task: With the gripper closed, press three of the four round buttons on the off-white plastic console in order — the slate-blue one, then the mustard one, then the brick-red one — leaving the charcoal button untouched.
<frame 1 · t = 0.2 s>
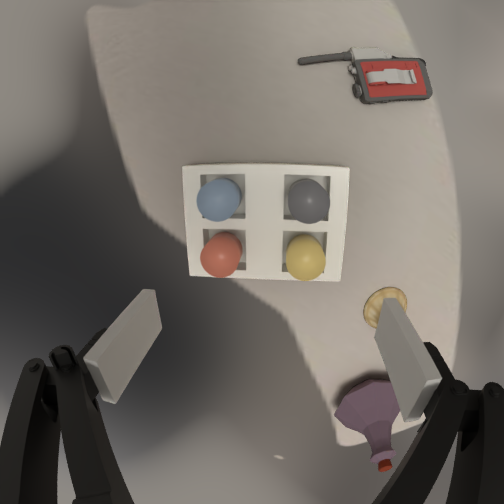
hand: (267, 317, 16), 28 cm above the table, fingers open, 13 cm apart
walkie-talkie: (368, 77, 33), on the table
button mustard: (305, 257, 37), point 6 cm above the table, slide at 0.0 cm
button slate: (219, 198, 36), point 6 cm above the table, slide at 0.0 cm
button brick: (222, 254, 38), point 6 cm above the table, slide at 0.0 cm
flask: (368, 392, 52), on the table
console: (266, 217, 42), on the table
hand bell: (385, 307, 45), on the table
button charcoal: (307, 200, 35), point 6 cm above the table, slide at 0.0 cm
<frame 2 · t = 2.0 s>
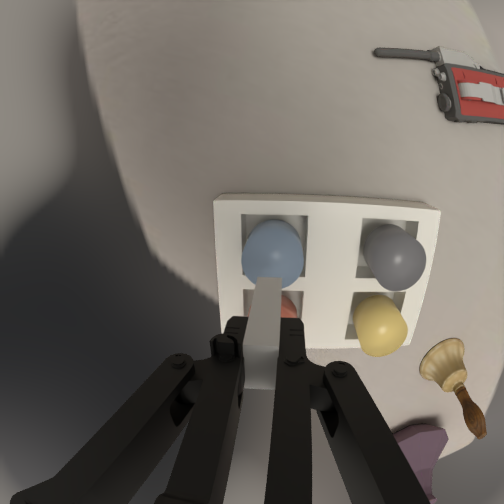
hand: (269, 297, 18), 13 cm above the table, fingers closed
walkie-talkie: (452, 86, 22), on the table
button mustard: (379, 325, 26), point 6 cm above the table, slide at 0.0 cm
button slate: (273, 253, 25), point 6 cm above the table, slide at 0.0 cm
button brick: (271, 325, 27), point 6 cm above the table, slide at 0.0 cm
flask: (407, 435, 41), on the table
console: (324, 268, 31), on the table
hand bell: (441, 358, 34), on the table
button charcoal: (393, 256, 23), point 6 cm above the table, slide at 0.0 cm
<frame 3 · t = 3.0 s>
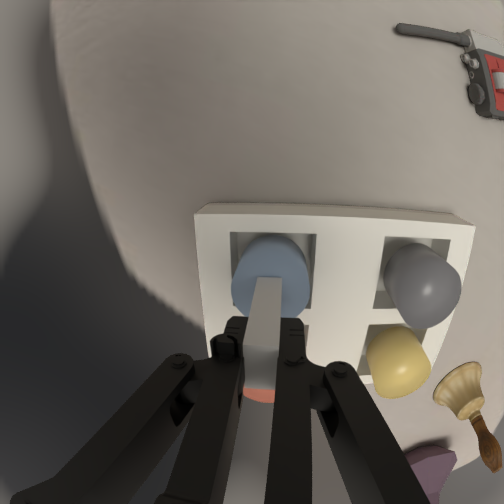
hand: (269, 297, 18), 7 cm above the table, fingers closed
walkie-talkie: (482, 77, 16), on the table
button mustard: (397, 362, 20), point 6 cm above the table, slide at 0.0 cm
button slate: (271, 278, 20), point 5 cm above the table, slide at 0.7 cm, touching gripper
button brick: (269, 365, 22), point 6 cm above the table, slide at 0.0 cm
flask: (414, 456, 36), on the table
console: (334, 292, 25), on the table
hand bell: (457, 382, 28), on the table
button charcoal: (421, 284, 18), point 6 cm above the table, slide at 0.0 cm
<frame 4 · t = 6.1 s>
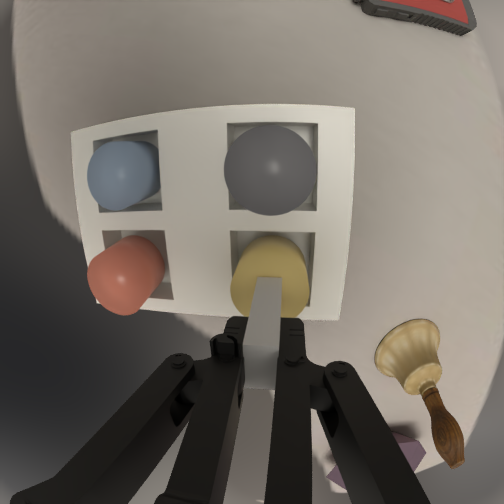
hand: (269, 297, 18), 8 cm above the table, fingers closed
button mustard: (271, 278, 20), point 5 cm above the table, slide at 0.4 cm, touching gripper
button slate: (126, 173, 20), point 4 cm above the table, slide at 2.0 cm
button brick: (126, 273, 21), point 6 cm above the table, slide at 0.0 cm
flask: (374, 445, 35), on the table
console: (209, 208, 24), on the table
hand bell: (407, 347, 27), on the table
button charcoal: (271, 168, 17), point 6 cm above the table, slide at 0.0 cm
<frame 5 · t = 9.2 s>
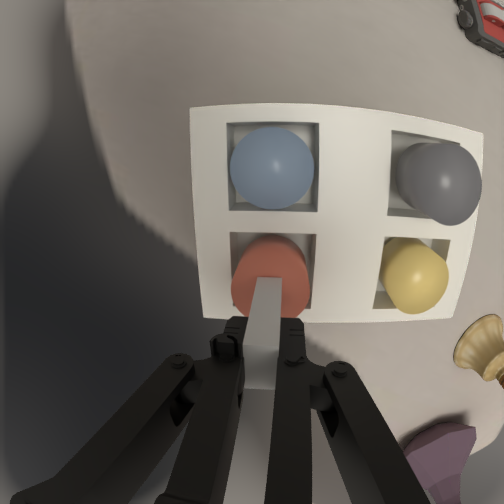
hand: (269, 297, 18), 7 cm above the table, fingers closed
walkie-talkie: (473, 17, 13), on the table
button mustard: (411, 273, 20), point 4 cm above the table, slide at 2.0 cm
button slate: (273, 166, 18), point 4 cm above the table, slide at 2.0 cm
button brick: (271, 278, 20), point 5 cm above the table, slide at 0.7 cm, touching gripper
flask: (430, 436, 33), on the table
console: (341, 211, 22), on the table
hand bell: (478, 340, 26), on the table
button charcoal: (438, 180, 15), point 6 cm above the table, slide at 0.0 cm
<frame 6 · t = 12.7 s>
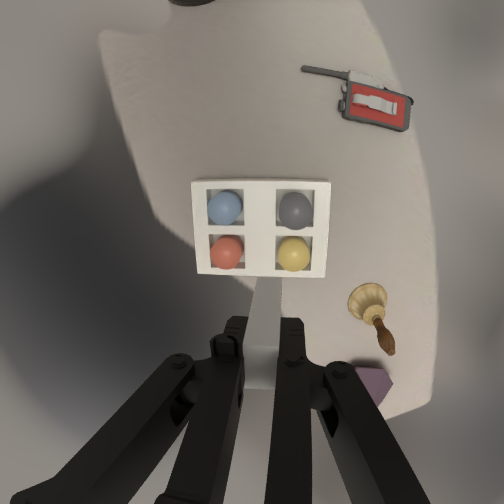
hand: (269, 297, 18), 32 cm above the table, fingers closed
walkie-talkie: (356, 98, 40), on the table
button mustard: (293, 252, 47), point 4 cm above the table, slide at 2.0 cm
button slate: (225, 207, 45), point 4 cm above the table, slide at 2.0 cm
button brick: (227, 251, 48), point 4 cm above the table, slide at 2.0 cm
flask: (356, 378, 60), on the table
console: (261, 224, 50), on the table
hand bell: (367, 300, 53), on the table
button charcoal: (295, 210, 42), point 6 cm above the table, slide at 0.0 cm
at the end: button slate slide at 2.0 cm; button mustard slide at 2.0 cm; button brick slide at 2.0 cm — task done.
